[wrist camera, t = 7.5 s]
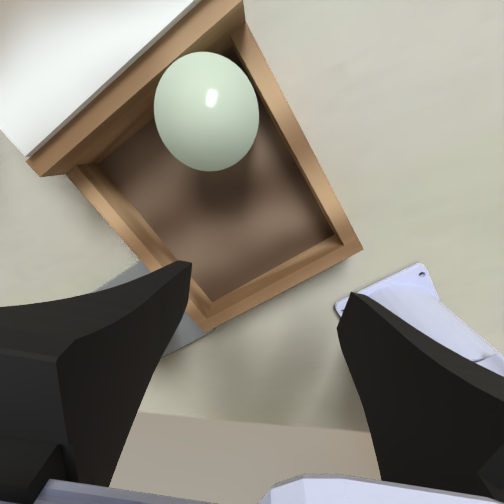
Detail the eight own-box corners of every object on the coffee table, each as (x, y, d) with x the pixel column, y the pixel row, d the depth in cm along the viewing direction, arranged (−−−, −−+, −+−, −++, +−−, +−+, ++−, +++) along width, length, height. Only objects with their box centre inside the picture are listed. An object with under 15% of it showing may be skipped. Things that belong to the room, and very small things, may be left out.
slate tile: (216, 324, 24) (214, 330, 23) (146, 361, 26) (143, 367, 25) (154, 251, 21) (150, 254, 21) (82, 298, 23) (76, 303, 23)
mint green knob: (273, 138, 17) (278, 133, 12) (214, 179, 18) (196, 190, 13) (232, 64, 16) (218, 23, 10) (171, 114, 17) (131, 98, 12)
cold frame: (349, 235, 20) (378, 263, 15) (211, 311, 23) (197, 354, 18) (153, -136, 13) (85, -314, 8) (-8, 48, 16) (-128, 2, 11)
